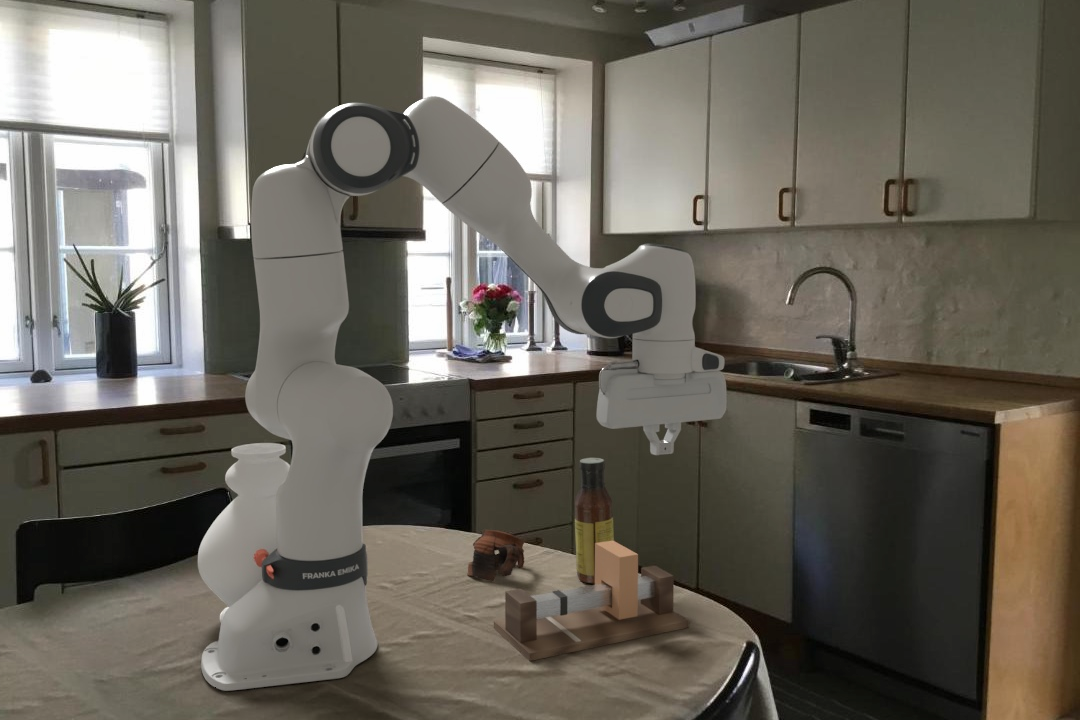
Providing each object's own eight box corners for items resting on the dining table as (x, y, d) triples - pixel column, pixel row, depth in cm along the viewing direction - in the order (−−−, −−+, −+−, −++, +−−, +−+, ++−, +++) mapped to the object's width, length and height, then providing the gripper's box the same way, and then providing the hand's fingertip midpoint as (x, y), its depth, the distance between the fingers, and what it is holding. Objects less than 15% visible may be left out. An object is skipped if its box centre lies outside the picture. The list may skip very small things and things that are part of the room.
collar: (619, 619, 130) (619, 557, 129) (594, 602, 136) (595, 543, 135) (637, 616, 131) (638, 554, 130) (612, 599, 138) (612, 540, 136)
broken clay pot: (454, 574, 156) (468, 526, 159) (500, 590, 160) (513, 543, 163) (488, 576, 146) (502, 525, 148) (537, 593, 150) (550, 544, 153)
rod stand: (529, 660, 121) (529, 613, 121) (493, 627, 132) (493, 583, 131) (688, 627, 132) (689, 583, 132) (643, 599, 143) (644, 558, 142)
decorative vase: (281, 647, 126) (274, 466, 123) (173, 630, 131) (164, 456, 128) (349, 601, 142) (345, 440, 139) (250, 587, 148) (245, 433, 145)
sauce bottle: (614, 573, 155) (615, 456, 152) (614, 586, 148) (615, 464, 146) (575, 571, 155) (576, 455, 153) (573, 585, 149) (573, 463, 147)
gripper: (611, 364, 125) (610, 465, 127) (734, 357, 134) (731, 451, 136) (588, 360, 131) (588, 456, 133) (707, 353, 140) (706, 443, 142)
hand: (661, 453), depth 134 cm, fingers closed
